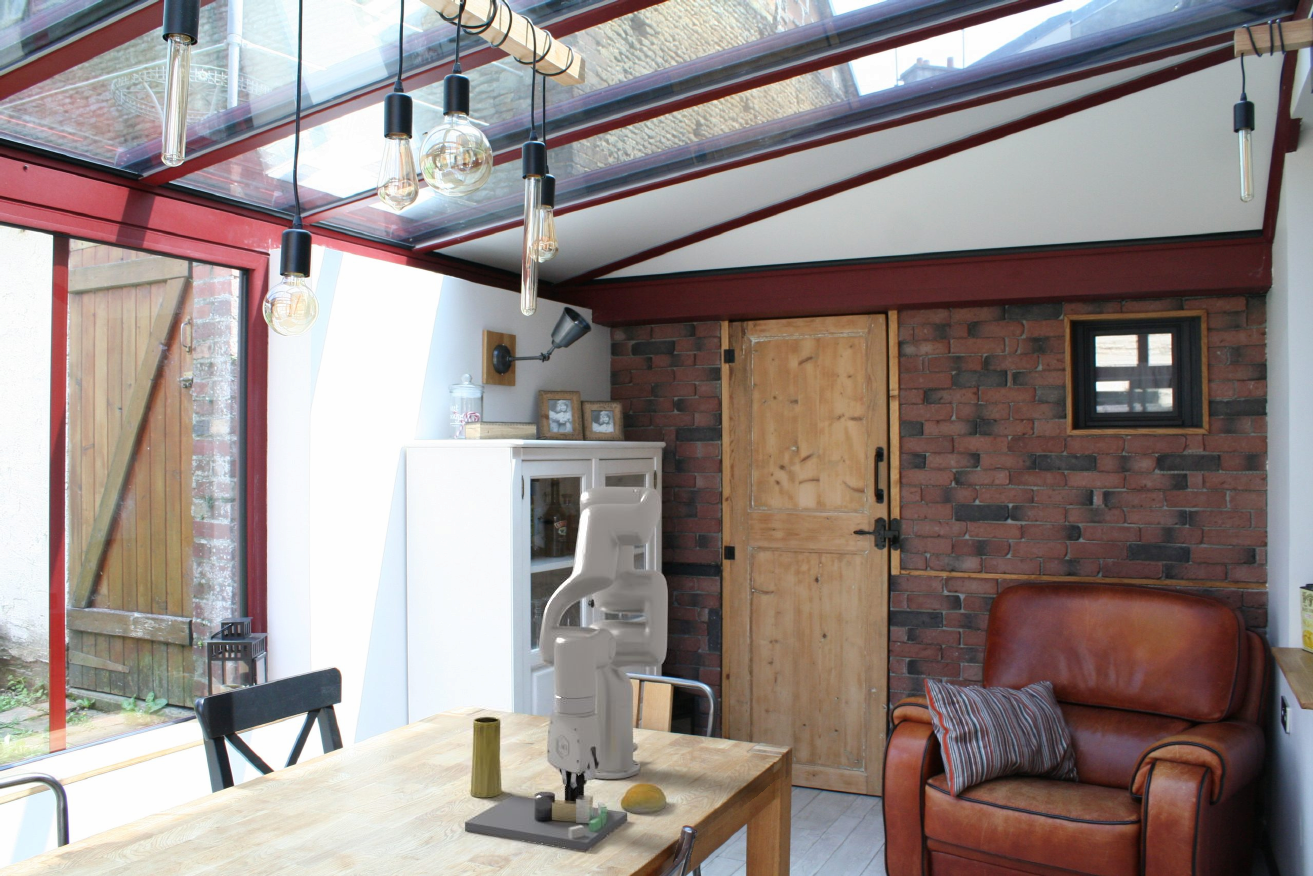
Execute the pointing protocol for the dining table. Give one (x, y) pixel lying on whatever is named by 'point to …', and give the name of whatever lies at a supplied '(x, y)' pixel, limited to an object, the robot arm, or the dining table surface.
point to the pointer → (563, 808)
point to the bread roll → (643, 799)
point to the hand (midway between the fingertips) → (574, 807)
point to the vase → (486, 758)
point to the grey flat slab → (544, 824)
